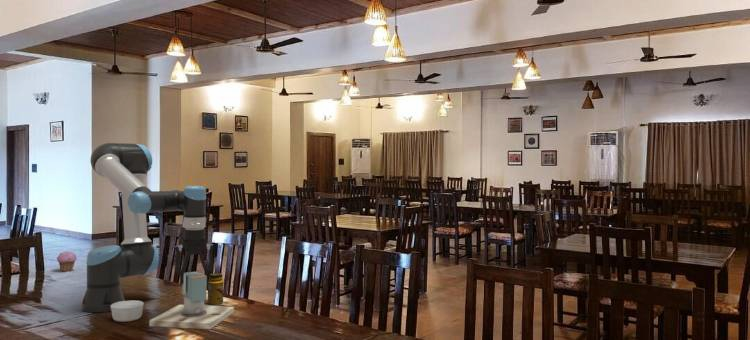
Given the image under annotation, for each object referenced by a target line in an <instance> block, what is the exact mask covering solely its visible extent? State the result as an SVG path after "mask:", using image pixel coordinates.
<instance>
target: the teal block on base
mask: <svg viewBox="0 0 750 340" xmlns="http://www.w3.org/2000/svg"><path fill="white" fill-rule="evenodd" d="M184 274H186V294H183V284H181V295H182V296H184V297H183V305H184V313H185V314H200V313H203V312H204V302H205V300H207V289H208V282H207V276H206V275H202V273H199V272H197V271H190V272H184Z"/></svg>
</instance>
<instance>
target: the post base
mask: <svg viewBox="0 0 750 340" xmlns="http://www.w3.org/2000/svg"><path fill="white" fill-rule="evenodd" d="M234 313H235V306H223V305H217V306H204V312H203V313H200V314H185V313H184V304H178V305H175V306H174V307H172V308H170V309H168V310H167V311H165V312H163V313H161V314H158V315H157V316H155V317H153V318H151V319H149V325H148V326H149V327H154V328H155V327H159V328H160V327H161V328H175V329H176V328H178V329H196V330H197V329H200V330H212V329H213V328H214V327H216V326H217V325H219V324H220V323H221V322H222V321H224V320H226V319H227V318H228V317H230V316H231V315H233V314H234Z"/></svg>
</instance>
